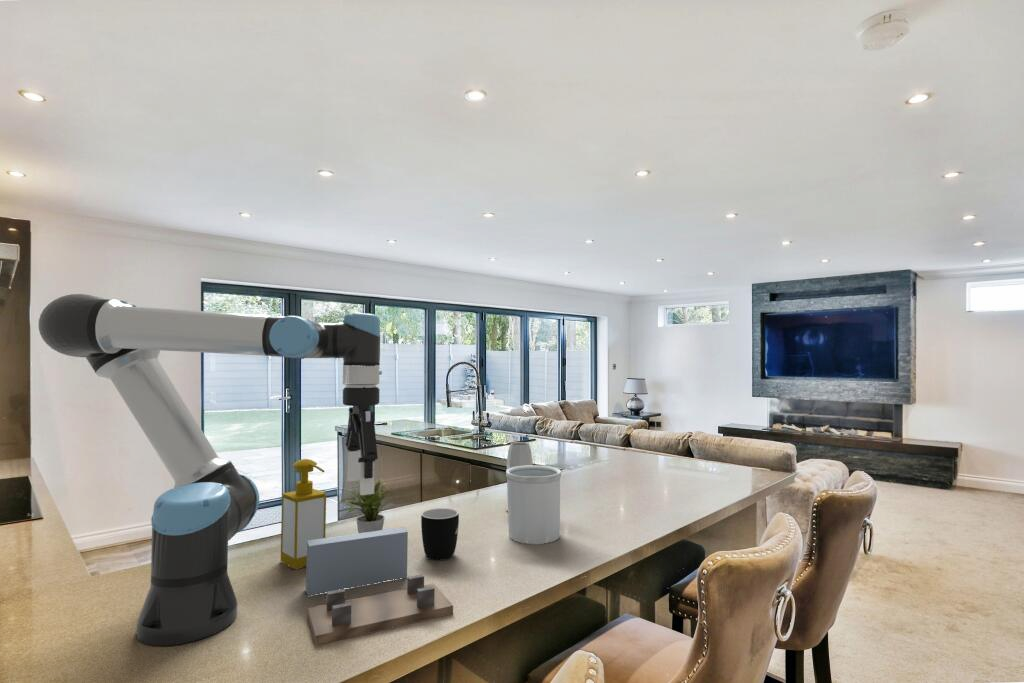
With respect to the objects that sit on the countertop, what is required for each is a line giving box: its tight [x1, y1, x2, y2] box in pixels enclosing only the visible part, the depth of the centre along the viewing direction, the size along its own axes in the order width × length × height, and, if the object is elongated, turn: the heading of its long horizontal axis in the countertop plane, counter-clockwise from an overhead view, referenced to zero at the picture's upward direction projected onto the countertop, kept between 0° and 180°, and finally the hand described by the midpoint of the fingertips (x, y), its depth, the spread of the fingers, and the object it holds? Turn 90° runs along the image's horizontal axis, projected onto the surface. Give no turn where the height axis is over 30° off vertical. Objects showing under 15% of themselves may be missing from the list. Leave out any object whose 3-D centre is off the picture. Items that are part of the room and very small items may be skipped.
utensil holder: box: [505, 464, 562, 545], centre depth 142 cm, size 15×15×18 cm
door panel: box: [305, 526, 409, 597], centre depth 111 cm, size 20×4×10 cm, turn 117°
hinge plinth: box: [307, 573, 454, 646], centre depth 97 cm, size 24×11×4 cm, turn 117°
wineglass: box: [505, 441, 533, 512], centre depth 166 cm, size 9×9×21 cm
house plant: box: [341, 477, 396, 534], centre depth 137 cm, size 14×14×16 cm
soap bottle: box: [280, 458, 327, 570], centre depth 121 cm, size 7×13×24 cm, turn 47°
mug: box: [420, 507, 460, 561], centre depth 128 cm, size 12×9×10 cm
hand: (360, 487), depth 111 cm, fingers open, 13 cm apart
